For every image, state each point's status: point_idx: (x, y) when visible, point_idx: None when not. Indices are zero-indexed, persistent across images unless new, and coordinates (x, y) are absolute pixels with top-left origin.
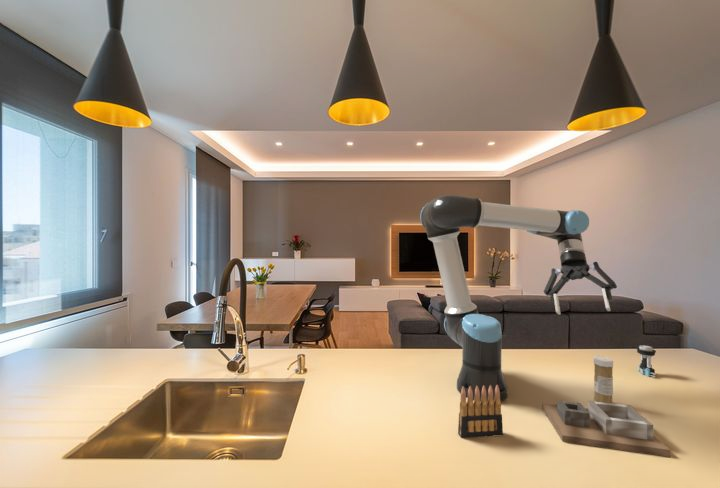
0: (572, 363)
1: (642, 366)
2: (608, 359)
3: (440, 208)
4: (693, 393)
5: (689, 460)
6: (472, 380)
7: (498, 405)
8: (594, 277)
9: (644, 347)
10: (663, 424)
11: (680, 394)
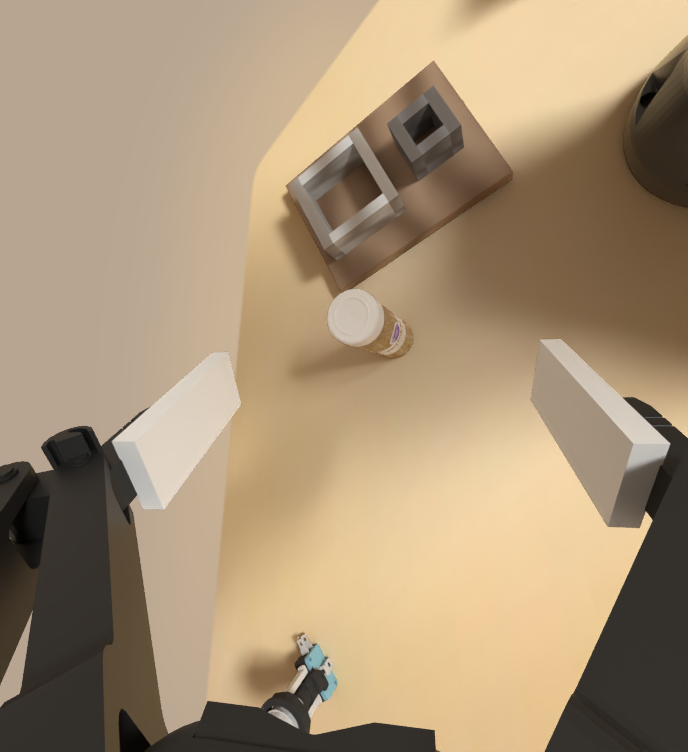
0: (525, 666)
1: (318, 674)
2: (336, 312)
3: None
4: (245, 560)
5: (271, 206)
6: None
7: None
8: (51, 586)
9: None
10: (296, 320)
11: (265, 533)
